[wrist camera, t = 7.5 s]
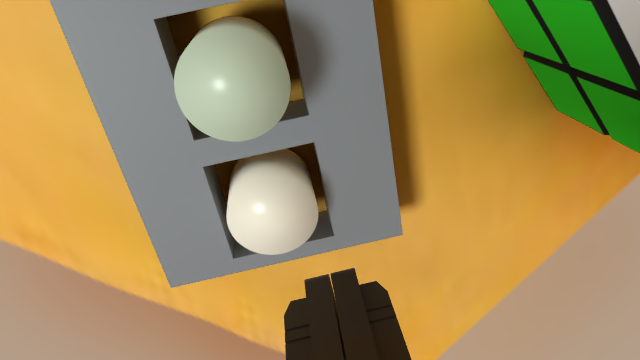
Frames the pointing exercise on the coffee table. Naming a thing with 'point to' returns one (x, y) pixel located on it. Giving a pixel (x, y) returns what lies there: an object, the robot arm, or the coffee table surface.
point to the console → (204, 151)
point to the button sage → (233, 80)
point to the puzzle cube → (583, 58)
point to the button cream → (271, 202)
